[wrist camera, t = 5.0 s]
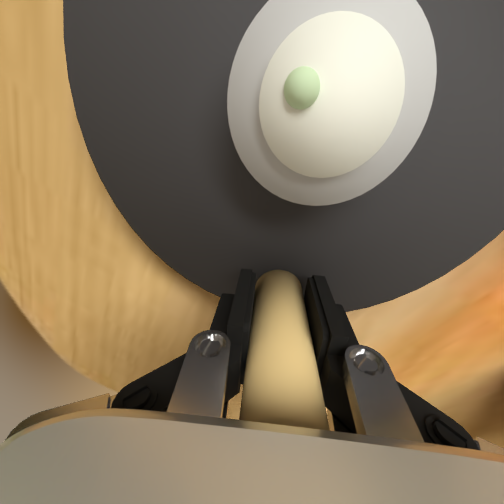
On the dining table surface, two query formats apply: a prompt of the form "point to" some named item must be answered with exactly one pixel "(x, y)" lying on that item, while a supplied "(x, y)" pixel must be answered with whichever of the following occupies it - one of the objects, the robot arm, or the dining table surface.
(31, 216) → the dining table surface
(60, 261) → the dining table surface
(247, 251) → the wheel
